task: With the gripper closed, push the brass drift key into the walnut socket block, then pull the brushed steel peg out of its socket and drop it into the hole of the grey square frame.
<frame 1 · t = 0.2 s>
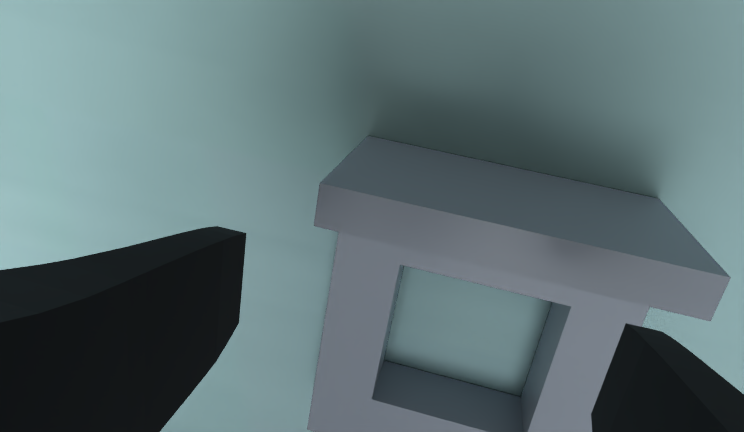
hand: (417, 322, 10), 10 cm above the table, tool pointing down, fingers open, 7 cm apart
grey square frame: (467, 319, 21), on the table
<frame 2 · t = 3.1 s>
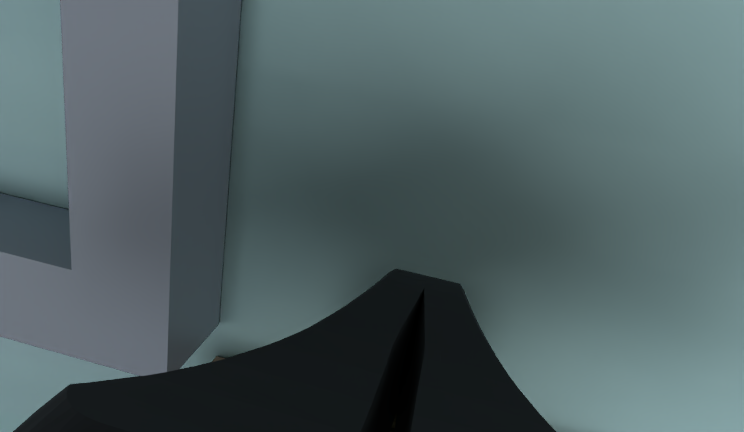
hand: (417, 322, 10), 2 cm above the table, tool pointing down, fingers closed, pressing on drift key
grey square frame: (34, 93, 13), on the table
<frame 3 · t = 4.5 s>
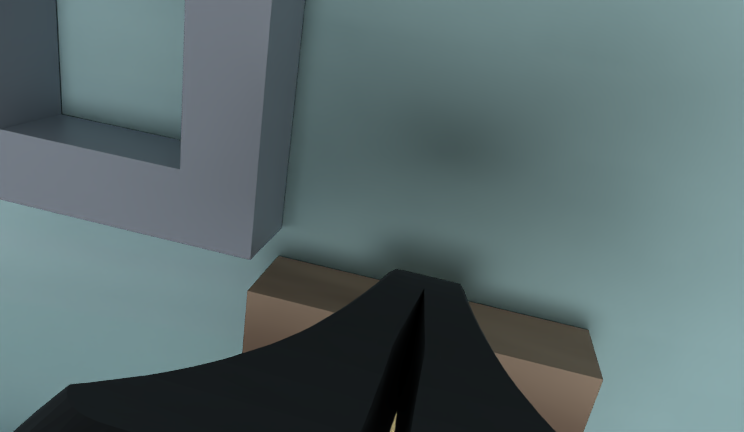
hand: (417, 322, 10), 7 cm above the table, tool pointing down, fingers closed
drift key: (397, 424, 15), point 3 cm above the table, slide at 2.6 cm
grey square frame: (139, 40, 17), on the table
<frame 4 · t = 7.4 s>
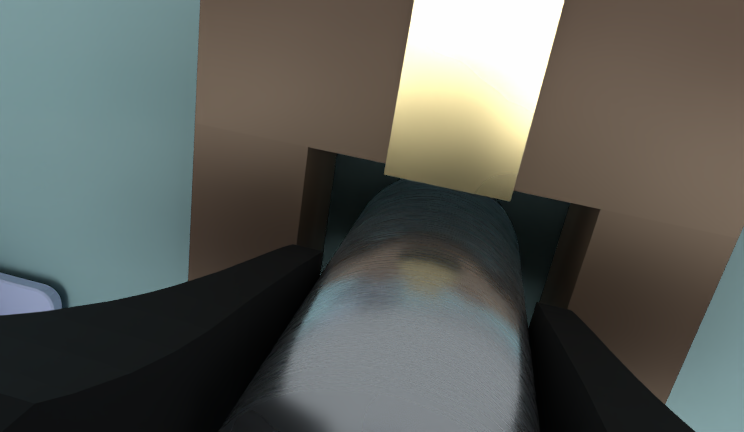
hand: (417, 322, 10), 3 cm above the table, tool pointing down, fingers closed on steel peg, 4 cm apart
steel peg: (433, 254, 13), resting in socket block, touching gripper
socket block: (455, 155, 13), on the table
when the fingers open (5 cm above the table, at t = 11.7 s): steel peg drops 1 cm, resting in grey square frame.
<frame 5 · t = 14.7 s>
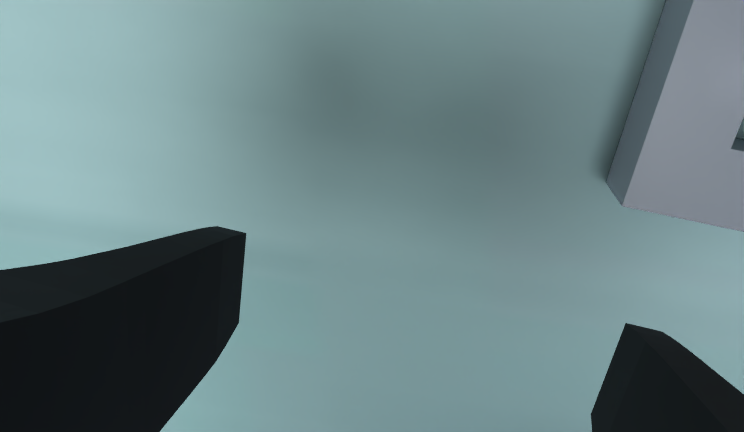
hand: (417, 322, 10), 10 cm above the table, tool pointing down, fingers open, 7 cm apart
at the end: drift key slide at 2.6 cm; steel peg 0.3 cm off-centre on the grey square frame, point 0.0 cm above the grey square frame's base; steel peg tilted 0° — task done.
